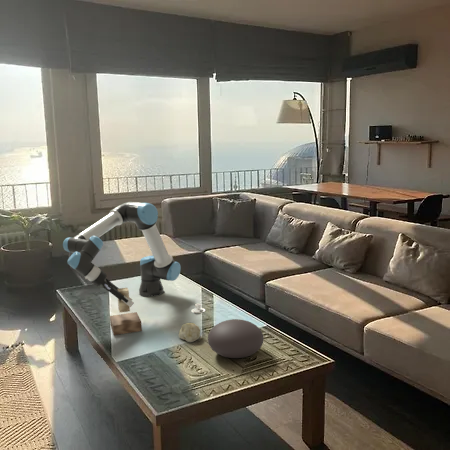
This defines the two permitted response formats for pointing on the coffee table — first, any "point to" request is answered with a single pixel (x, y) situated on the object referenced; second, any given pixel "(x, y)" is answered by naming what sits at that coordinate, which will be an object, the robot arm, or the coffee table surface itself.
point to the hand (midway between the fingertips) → (131, 303)
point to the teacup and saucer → (197, 308)
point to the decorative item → (189, 332)
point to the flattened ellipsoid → (235, 338)
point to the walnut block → (125, 323)
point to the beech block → (121, 305)
